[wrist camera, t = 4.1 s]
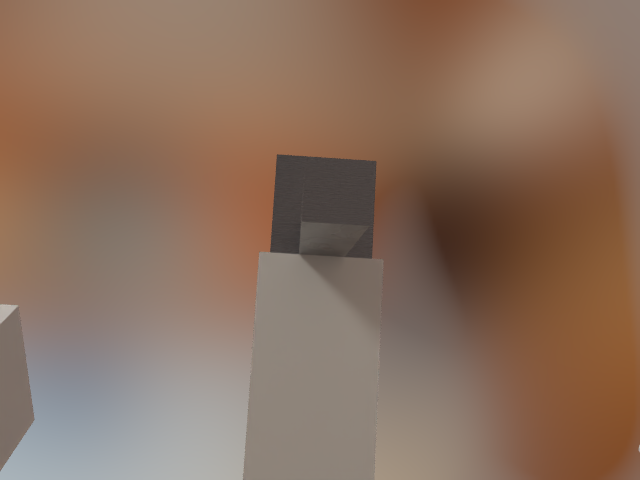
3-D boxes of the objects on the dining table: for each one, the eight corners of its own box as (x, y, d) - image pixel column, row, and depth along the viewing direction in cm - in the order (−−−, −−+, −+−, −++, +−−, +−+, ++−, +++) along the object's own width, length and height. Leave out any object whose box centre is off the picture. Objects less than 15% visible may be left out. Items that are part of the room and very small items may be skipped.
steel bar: (257, 218, 19) (268, 70, 19) (274, 264, 34) (279, 180, 35) (412, 228, 19) (417, 81, 20) (359, 269, 34) (363, 186, 35)
